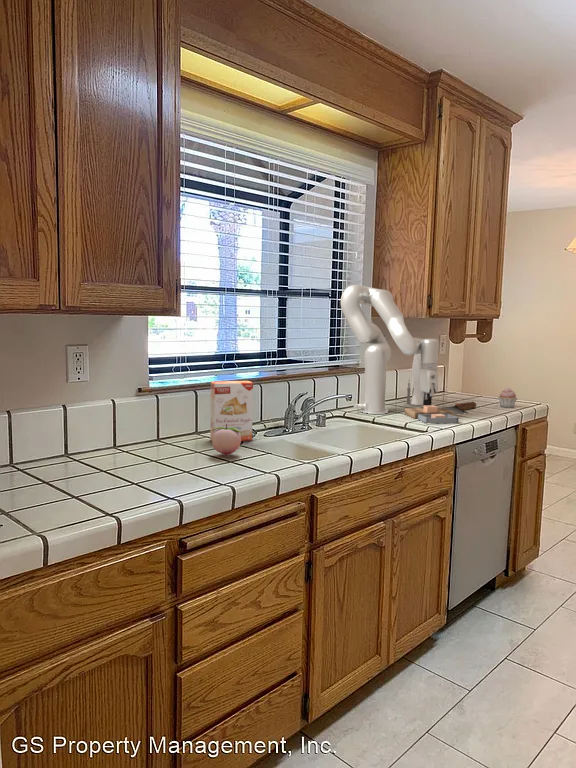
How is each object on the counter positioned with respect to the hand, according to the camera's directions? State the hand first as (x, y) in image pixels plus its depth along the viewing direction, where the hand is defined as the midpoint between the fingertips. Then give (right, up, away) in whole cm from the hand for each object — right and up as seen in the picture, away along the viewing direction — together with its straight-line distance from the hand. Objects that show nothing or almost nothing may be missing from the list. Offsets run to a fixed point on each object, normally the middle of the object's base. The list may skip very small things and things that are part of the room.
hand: (427, 408), depth 254 cm
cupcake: (+48, -1, +31) cm, 57 cm away
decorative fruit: (-81, -12, -74) cm, 111 cm away
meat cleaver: (+19, -3, +14) cm, 24 cm away
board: (+1, -4, +1) cm, 4 cm away
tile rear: (0, -1, -4) cm, 4 cm away
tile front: (+2, -2, -12) cm, 13 cm away
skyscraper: (+3, 0, +34) cm, 34 cm away
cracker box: (-82, -9, -52) cm, 97 cm away
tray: (+2, -5, -11) cm, 12 cm away
